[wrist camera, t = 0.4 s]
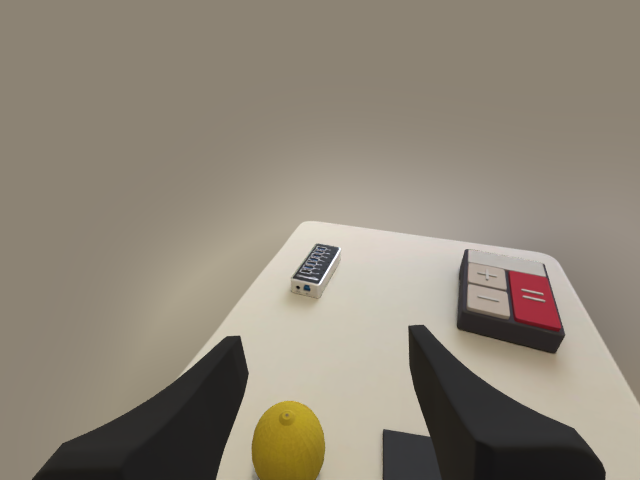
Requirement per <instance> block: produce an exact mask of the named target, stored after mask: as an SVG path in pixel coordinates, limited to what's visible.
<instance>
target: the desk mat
mask: <svg viewBox="0 0 640 480" xmlns="http://www.w3.org/2000/svg"><path fill="white" fill-rule="evenodd" d="M383 480H442V478H441V474H440V470H439V466H438V462H437V457H436V453H435V450H434V446H433V443H432V440H431V437H427V436H421V435H415V434H409V433H403V432H397V431H391V430H385V429H384V430H383Z"/></svg>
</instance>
